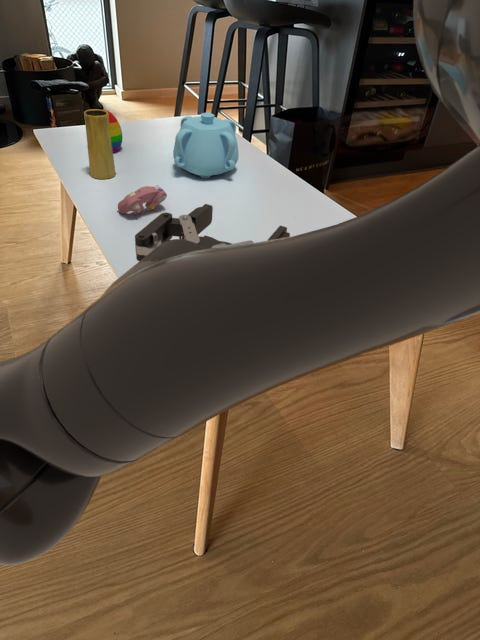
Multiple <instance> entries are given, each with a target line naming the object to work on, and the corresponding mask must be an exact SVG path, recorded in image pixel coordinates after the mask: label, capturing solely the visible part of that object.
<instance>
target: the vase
mask: <svg viewBox="0 0 480 640" xmlns="http://www.w3.org/2000/svg"><path fill="white" fill-rule="evenodd" d="M105 110H106V109H99V108H92V109H91V108H90V109H86V110H85V111H83V117H84V123H85V124H84V125H85V133H86V135H85V136H86V143H87V144H86V145H87V154H88V155H87V156H88V165H89V176H90V177H92V178H93V179H96V180H108V179H111V178H114V177H116V175H117V172H116V165H115V159H114V158H115V157H114V152H113V151H112V144H111V136H110V126H109V115H108V112H107V111H108V110H107V111H105Z"/></svg>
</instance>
